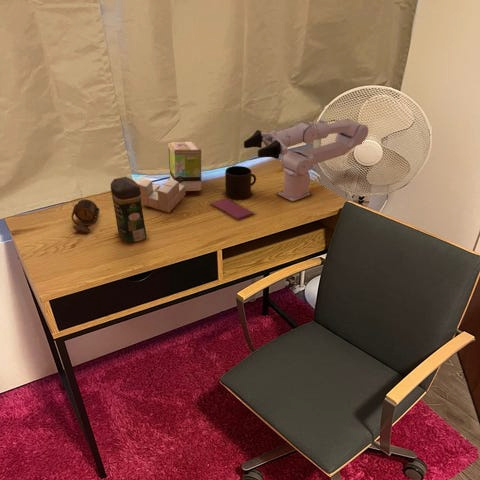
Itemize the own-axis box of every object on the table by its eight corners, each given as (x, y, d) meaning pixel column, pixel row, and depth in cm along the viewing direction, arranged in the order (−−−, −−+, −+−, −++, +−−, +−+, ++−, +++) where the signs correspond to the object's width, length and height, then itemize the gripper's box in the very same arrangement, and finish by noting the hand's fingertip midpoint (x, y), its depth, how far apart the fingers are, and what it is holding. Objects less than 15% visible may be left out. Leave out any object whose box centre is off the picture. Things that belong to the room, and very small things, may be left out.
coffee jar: (115, 233, 153) (105, 177, 141) (138, 227, 156) (131, 172, 144) (125, 246, 146) (116, 189, 135) (149, 240, 150) (143, 184, 138)
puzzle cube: (185, 194, 172) (184, 175, 166) (169, 212, 165) (167, 193, 158) (156, 185, 175) (154, 166, 169) (139, 203, 167) (136, 183, 161)
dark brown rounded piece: (109, 203, 157) (82, 192, 158) (86, 216, 147) (58, 205, 148) (107, 222, 162) (81, 212, 163) (85, 237, 152) (58, 225, 153)
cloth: (226, 199, 173) (226, 197, 173) (253, 214, 165) (253, 212, 164) (211, 205, 170) (211, 203, 169) (238, 220, 161) (238, 218, 161)
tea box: (202, 190, 174) (201, 148, 167) (175, 192, 172) (173, 149, 164) (194, 180, 187) (193, 140, 179) (169, 181, 184) (167, 141, 177)
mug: (261, 196, 176) (262, 172, 170) (231, 201, 172) (232, 177, 166) (249, 186, 183) (250, 163, 177) (221, 191, 179) (221, 168, 173)
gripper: (271, 119, 162) (238, 128, 156) (299, 135, 153) (265, 145, 148) (270, 140, 167) (238, 149, 161) (296, 156, 158) (264, 167, 153)
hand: (251, 149), depth 155 cm, fingers open, 7 cm apart
